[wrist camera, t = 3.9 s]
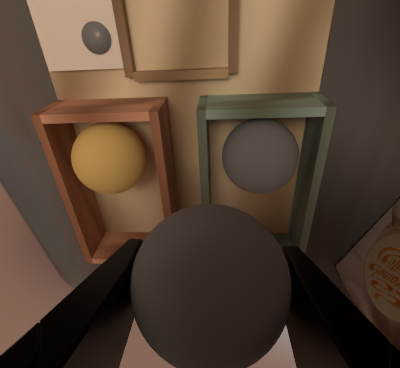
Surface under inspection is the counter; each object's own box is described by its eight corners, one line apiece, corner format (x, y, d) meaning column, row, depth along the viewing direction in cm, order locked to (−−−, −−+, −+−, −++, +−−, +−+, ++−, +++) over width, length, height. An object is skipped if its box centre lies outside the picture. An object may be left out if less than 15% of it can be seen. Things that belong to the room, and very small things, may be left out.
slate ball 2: (294, 106, 17) (315, 133, 13) (285, 170, 19) (301, 208, 15) (221, 108, 17) (221, 135, 13) (221, 170, 19) (222, 208, 16)
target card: (102, -70, 13) (99, -72, 13) (127, 67, 16) (124, 68, 16) (10, -62, 13) (5, -64, 13) (51, 70, 16) (48, 71, 16)
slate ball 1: (285, 177, 8) (339, 309, 5) (266, 274, 11) (292, 414, 7) (143, 173, 9) (85, 295, 5) (154, 269, 11) (121, 403, 7)
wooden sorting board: (344, -99, 13) (390, -140, 9) (290, 231, 23) (302, 269, 20) (15, -71, 14) (-51, -97, 10) (106, 230, 24) (87, 265, 21)
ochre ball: (148, 110, 17) (128, 137, 14) (157, 171, 20) (142, 208, 16) (81, 112, 18) (44, 139, 14) (98, 172, 20) (70, 208, 16)
